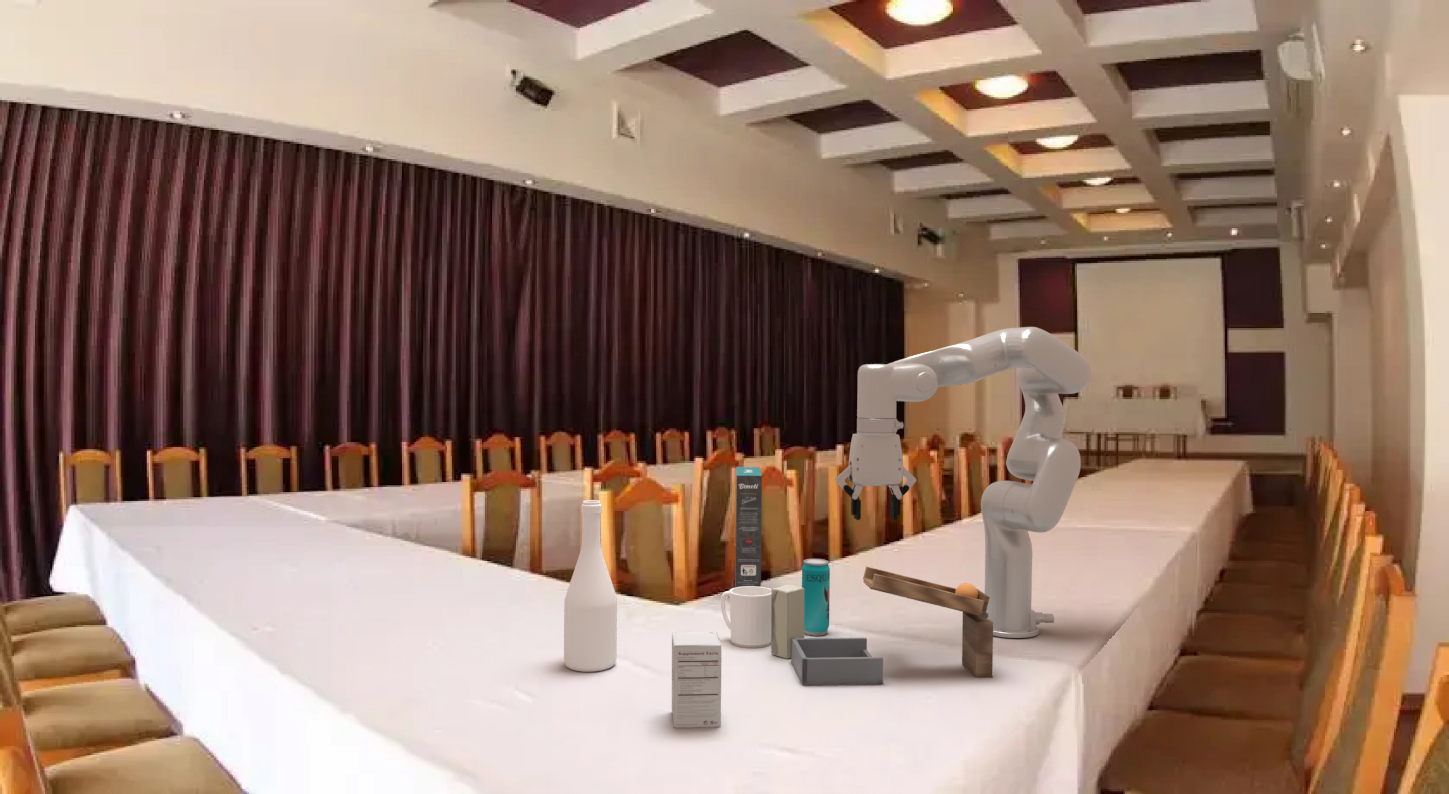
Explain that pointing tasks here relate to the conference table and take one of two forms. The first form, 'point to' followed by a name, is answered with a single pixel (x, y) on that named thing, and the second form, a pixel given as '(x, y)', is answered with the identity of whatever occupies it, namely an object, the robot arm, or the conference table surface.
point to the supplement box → (696, 679)
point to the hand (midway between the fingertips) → (875, 518)
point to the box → (786, 618)
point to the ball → (967, 590)
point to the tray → (835, 661)
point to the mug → (749, 616)
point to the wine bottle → (590, 602)
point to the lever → (925, 591)
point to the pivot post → (977, 645)
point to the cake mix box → (748, 526)
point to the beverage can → (816, 596)
